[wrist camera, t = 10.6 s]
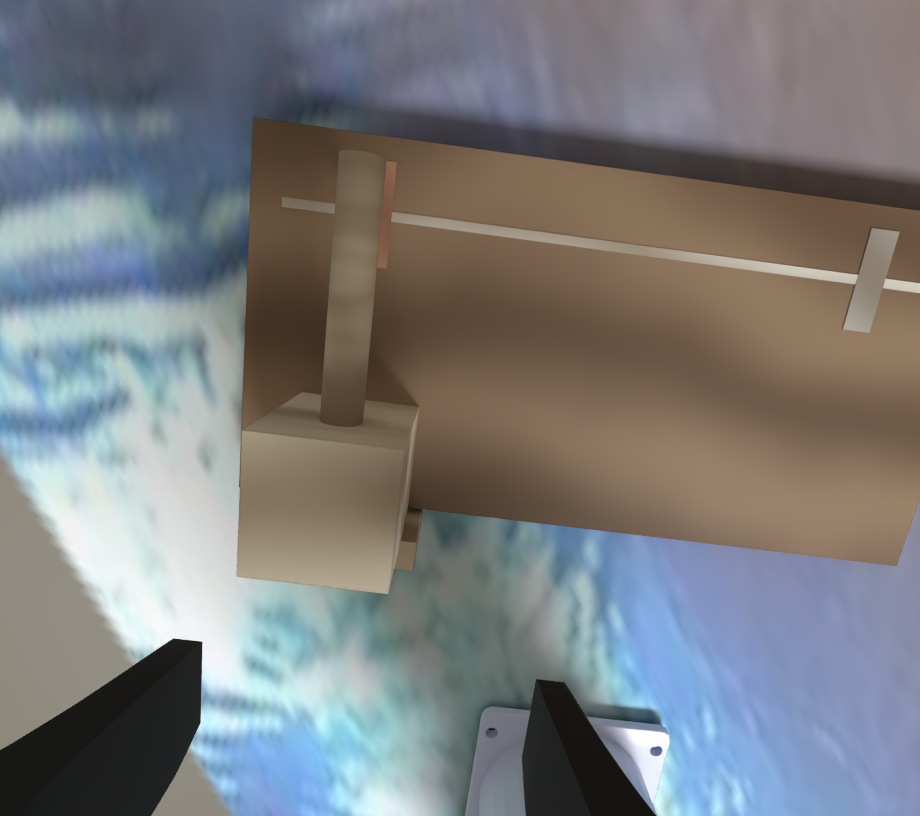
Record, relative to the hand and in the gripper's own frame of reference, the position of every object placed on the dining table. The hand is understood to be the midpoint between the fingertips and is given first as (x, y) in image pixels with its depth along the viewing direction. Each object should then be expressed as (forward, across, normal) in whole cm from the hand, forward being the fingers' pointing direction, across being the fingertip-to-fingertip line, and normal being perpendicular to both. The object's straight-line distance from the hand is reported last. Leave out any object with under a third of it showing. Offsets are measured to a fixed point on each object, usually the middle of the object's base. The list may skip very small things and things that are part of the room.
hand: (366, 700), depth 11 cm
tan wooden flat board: (+9, -6, -7) cm, 13 cm away
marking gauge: (+9, +2, -6) cm, 11 cm away
